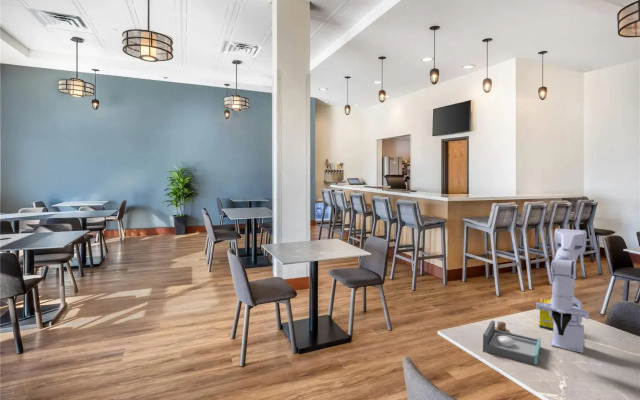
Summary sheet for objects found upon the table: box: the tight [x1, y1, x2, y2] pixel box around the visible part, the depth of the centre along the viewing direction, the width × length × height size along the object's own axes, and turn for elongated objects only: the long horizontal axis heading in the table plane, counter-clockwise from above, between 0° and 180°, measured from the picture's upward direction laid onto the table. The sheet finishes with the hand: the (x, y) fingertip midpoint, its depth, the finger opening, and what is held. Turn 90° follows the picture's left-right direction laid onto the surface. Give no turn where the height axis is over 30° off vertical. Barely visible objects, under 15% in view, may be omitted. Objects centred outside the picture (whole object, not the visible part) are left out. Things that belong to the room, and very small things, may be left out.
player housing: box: [482, 320, 538, 365], centre depth 125 cm, size 16×16×6 cm
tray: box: [489, 332, 542, 365], centre depth 124 cm, size 15×16×3 cm
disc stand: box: [495, 321, 511, 333], centre depth 139 cm, size 6×6×4 cm
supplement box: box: [538, 298, 554, 331], centre depth 144 cm, size 6×6×11 cm
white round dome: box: [498, 336, 514, 348], centre depth 126 cm, size 5×5×2 cm
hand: (561, 334), depth 116 cm, fingers closed
